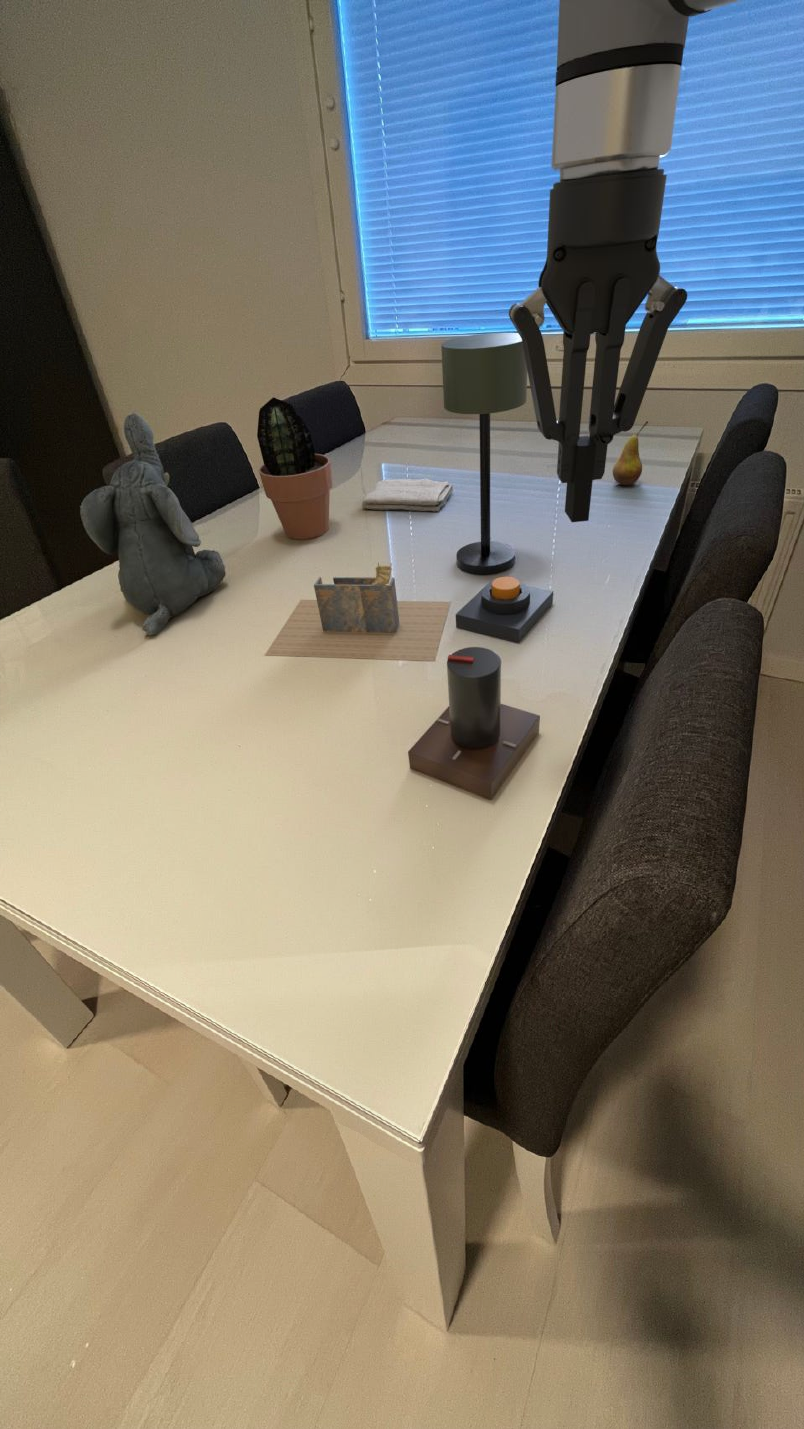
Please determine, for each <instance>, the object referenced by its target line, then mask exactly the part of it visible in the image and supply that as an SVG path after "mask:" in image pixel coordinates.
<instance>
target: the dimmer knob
mask: <svg viewBox="0 0 804 1429" xmlns="http://www.w3.org/2000/svg"><path fill="white" fill-rule="evenodd" d="M446 672H447V690H448V693H447V694H448V707H449V711H450V730H451V737H452V739H453V740H454V742H455V743H457V744H458V745H460V746H462V747H464V748H468V749H482V748H486V747H489V746H491V745H492V744H494V743H495V742H496V741H497V740H498V738H499V736H500V705H501V704H502V702H501V701H502V699H501V698H502V697H501V696H502V695H501V694H502V693H501V692H502V691H501V690H502V659H501V657H500V655H499V654H498V653H497V652H495V651H494V650H492V649H489V648H487V647H481V646H469V647H464V648H461V649H458V650H455V651H454V652H453V653H451V654H448V656H447V660H446Z"/></svg>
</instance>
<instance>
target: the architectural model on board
mask: <svg viewBox="0 0 804 1429" xmlns="http://www.w3.org/2000/svg"><path fill="white" fill-rule="evenodd" d="M392 566H393V563H392V562H390V565H380V562H377V567H375V576H374V577H372V576H371V577H370V576H367V577H365V576H362V577H361V576H358V577H357V576H354V577H353V576H333V578H332V580H333V583H331V584H330V583H329V584H327V583H324V584H323V580H322V576H318V577H317V579H316V581H315V583H314V584H313V589H314V593H315V599H300V600H299V602H298V603H297V605H296V606H295V608H294V609H293V611H292V612H291V614H290V616H289V617H288V618H287V619H286V622H285V623H284V625H283V626H282V627H281V629H280V631H279V633H278V634H277V635H276V637H275V638H274V640H273V641H272V643H271V645H270V646H269V647H268V649H267V651H266V652H265V654H264V655H265V656H280V657H281V656H282V657H283V656H284V657H286V656H287V657H311V658H314V657H315V658H336V659H337V658H342V659H368V660H369V659H370V660H398V661H422V662H423V661H425V662H428V661H429V662H435V661H436V658H437V654H438V650H439V647H440V643H441V639H442V635H443V632H444V628H445V624H446V621H447V618H448V613H449V609H450V606H451V601H428V600H427V601H421V600H420V601H419V600H418V601H417V600H416V601H415V600H413V601H412V600H398V598H397V589H396V580H395V576H393V577H391V576H392V575H391V574H392Z"/></svg>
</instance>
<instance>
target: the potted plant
mask: <svg viewBox="0 0 804 1429" xmlns="http://www.w3.org/2000/svg"><path fill="white" fill-rule="evenodd" d="M257 419H258V420H257V432H256V438H257V441H258V442H257V443H258V445H259V449H260V453H261V458H262V463H263V464H262V465H260V467H259V469H258V474H259V477H260V480H261V483H262V487H263V491H264V494H265V496H266V498H267V499H269V500H270V501H271V503H272V506H273V508H274V510H275V512H276V514H277V517H278V520H279V522H280V524H281V527H282V528H283V531H284V533H285V535H286V536H287V537H288V538H290V539H293V540H310V539H314V538H317V537H320V536H323V535H324V534H325V533H327V531H329V528H330V494H331V492H330V491H331V489H333V485H334V483H333V475H332V464H331V458H329V457H328V456H327V455H324V454H321V453H316V450H315V446H314V443H313V438H312V436H311V431H310V430H309V429H308V427H307V425H306V423H305V422H304V421H303V419H302V417H301V416H300V415H298V414H297V412H296V410H295V408H294V407H293V405H292V404H290V403H288V402H287V401H284V400H282V399H279V398H277V397H273V396H272V398H270V400H268V401H267V402H266V403H265V404H264V405H262V406H261V407H260V408H259V411H258V418H257Z"/></svg>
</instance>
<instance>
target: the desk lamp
mask: <svg viewBox="0 0 804 1429" xmlns="http://www.w3.org/2000/svg"><path fill="white" fill-rule="evenodd" d="M440 350H441V370H442V371H441V372H442V394H443V408H444V409H445V411H447V412H449V413H454V414H459V415H460V414H461V415H479V416H478V417H479V486H480V487H479V498H480V499H479V500H480V501H479V506H480V512H479V513H480V541H476V542H471V543H468V544H466V545H464V546H462V547H461V548H459V549H458V550H457V552H456V555H455V556H456V566H457V568H458V569H459V570H460V571H462V572H464V573H467V574H470V575H475V576H476V575H477V576H490V575H497V574H501V573H504V572H506V571H508V570H510V569H512V567H513V566H514V565H515V562H516V551H515V548H514V547H512V546H511V545H510V544H507V543H504V542H501V541H494V540H493V541H492V540H491V414H497V413H503V412H507V411H511V410H515V409H518V408H520V407H523V406H524V405H525V404H526V403H527V397H528V396H527V395H528V394H527V392H528V372H527V366H526V361H525V355H524V350H523V344H522V339H521V337H520V335H519V333H518V332H493V333H480V334H472V335H465V336H461V337H456V338H452V339H449V340H446V341H444V342H442V343H441V344H440Z"/></svg>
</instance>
